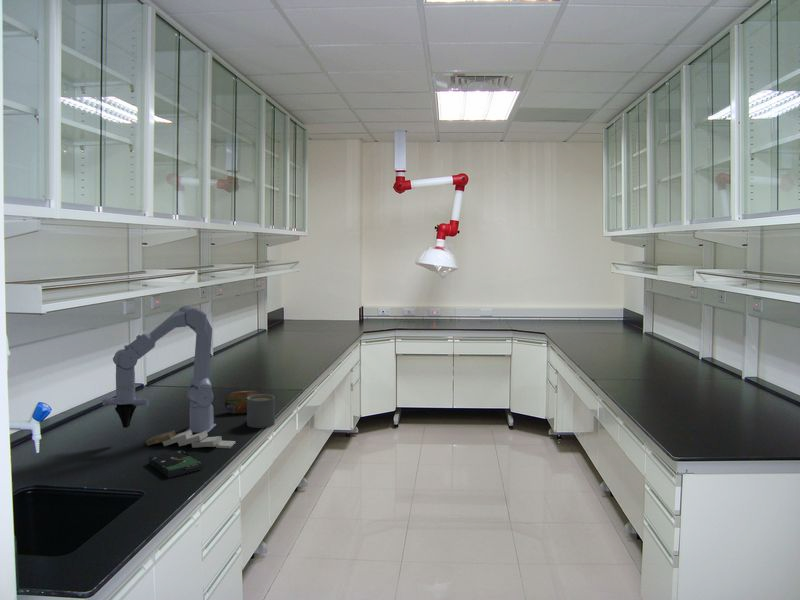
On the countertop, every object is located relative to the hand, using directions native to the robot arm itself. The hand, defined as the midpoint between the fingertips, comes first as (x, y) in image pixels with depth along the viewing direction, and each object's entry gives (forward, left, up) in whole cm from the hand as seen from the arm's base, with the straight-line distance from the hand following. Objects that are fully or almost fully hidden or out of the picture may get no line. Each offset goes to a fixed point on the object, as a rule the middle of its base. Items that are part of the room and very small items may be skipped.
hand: (126, 426), depth 201 cm
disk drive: (+20, +24, -6) cm, 32 cm away
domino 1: (0, +13, -5) cm, 14 cm away
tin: (-40, +28, -6) cm, 49 cm away
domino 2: (0, +19, -5) cm, 19 cm away
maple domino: (0, +8, -5) cm, 9 cm away
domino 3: (+1, +23, -5) cm, 24 cm away
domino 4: (0, +27, -6) cm, 28 cm away
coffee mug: (-26, +38, -6) cm, 47 cm away
